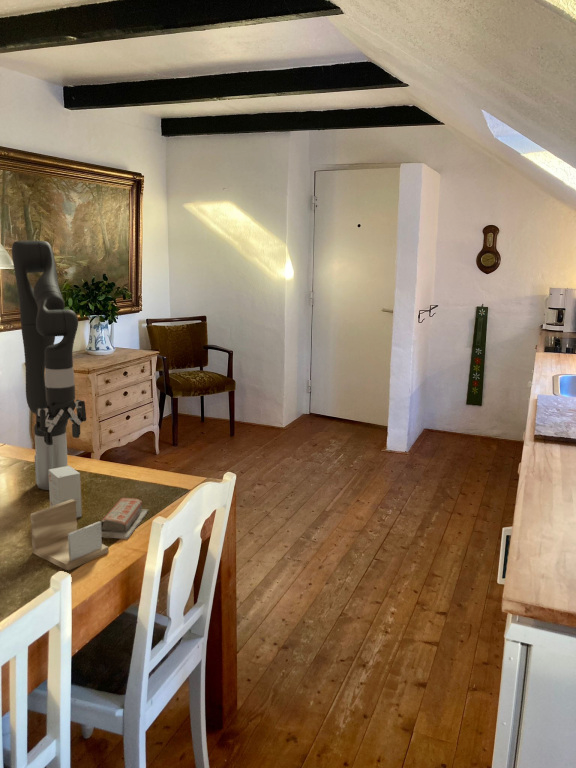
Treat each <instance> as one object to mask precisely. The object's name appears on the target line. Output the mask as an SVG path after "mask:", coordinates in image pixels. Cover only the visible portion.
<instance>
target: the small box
mask: <svg viewBox="0 0 576 768" xmlns="http://www.w3.org/2000/svg"><path fill="white" fill-rule="evenodd" d="M48 473H49V490H48V491H49V507H51V506H54V505H57V504H59V503H62V502H65V501H68V500H71V499H73V500H76V517H77V519H79V518H81V517H82V516H83V509H82V508H83V507H82V505H83V504H82V486H81V485H82V484H81V483H82V482H81V473H80V472H79V471H77V470H76V469H75V468H74V467H72V466H71V465H68V466H65V467H60V468H54V469H49V470H48Z"/></svg>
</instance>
